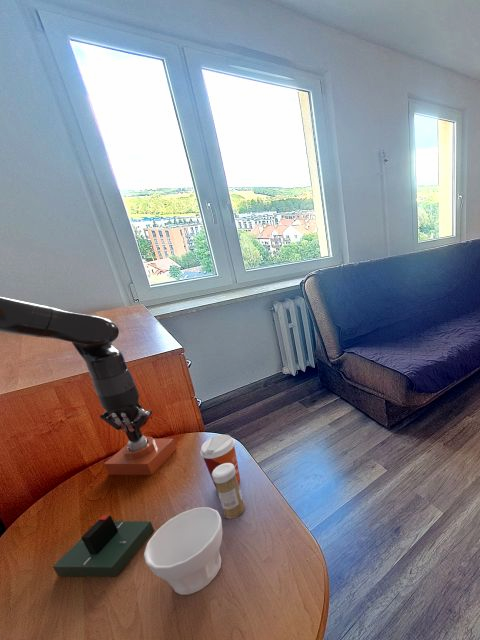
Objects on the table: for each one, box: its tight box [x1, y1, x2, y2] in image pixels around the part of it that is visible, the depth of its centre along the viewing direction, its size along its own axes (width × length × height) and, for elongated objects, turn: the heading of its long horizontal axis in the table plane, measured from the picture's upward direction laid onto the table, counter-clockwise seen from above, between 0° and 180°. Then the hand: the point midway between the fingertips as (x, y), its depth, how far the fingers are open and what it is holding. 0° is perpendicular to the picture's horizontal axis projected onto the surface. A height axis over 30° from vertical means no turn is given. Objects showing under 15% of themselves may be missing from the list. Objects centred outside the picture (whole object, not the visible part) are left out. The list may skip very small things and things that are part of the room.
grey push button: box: [126, 435, 148, 451], centre depth 94 cm, size 4×4×2 cm
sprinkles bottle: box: [211, 463, 246, 520], centre depth 79 cm, size 5×5×13 cm
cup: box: [143, 507, 223, 596], centre depth 67 cm, size 12×12×11 cm
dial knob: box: [80, 514, 118, 554], centre depth 70 cm, size 5×2×5 cm, turn 179°
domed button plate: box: [103, 436, 178, 476], centre depth 95 cm, size 12×10×6 cm
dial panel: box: [52, 520, 155, 578], centre depth 72 cm, size 12×10×3 cm
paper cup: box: [199, 433, 241, 491], centre depth 87 cm, size 8×8×14 cm
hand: (136, 439), depth 94 cm, fingers closed
